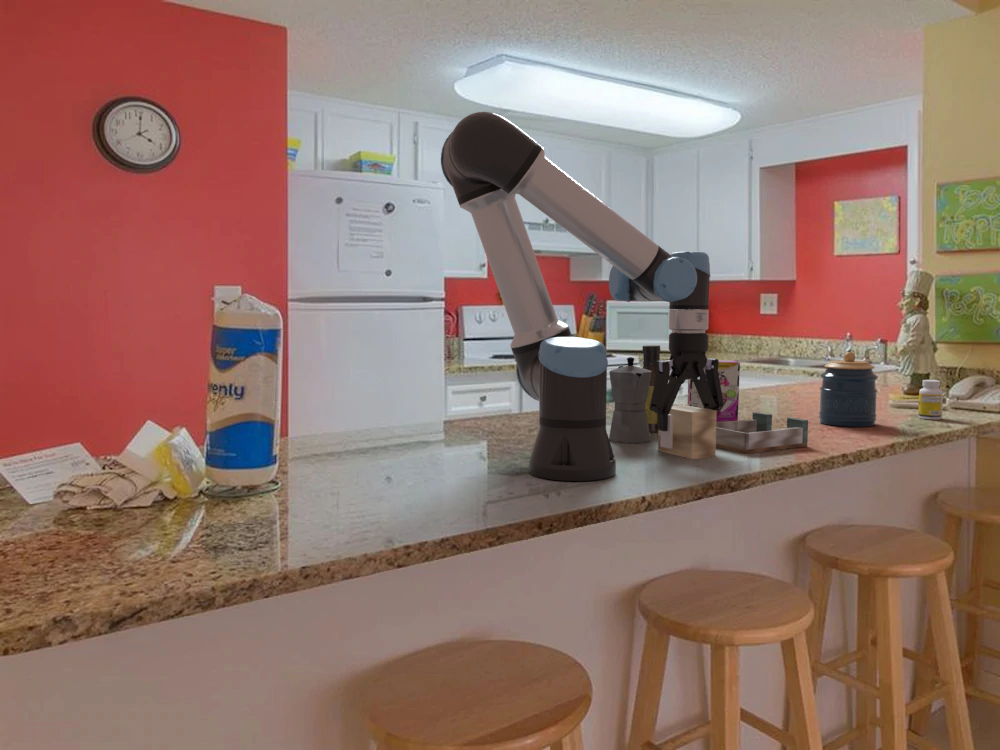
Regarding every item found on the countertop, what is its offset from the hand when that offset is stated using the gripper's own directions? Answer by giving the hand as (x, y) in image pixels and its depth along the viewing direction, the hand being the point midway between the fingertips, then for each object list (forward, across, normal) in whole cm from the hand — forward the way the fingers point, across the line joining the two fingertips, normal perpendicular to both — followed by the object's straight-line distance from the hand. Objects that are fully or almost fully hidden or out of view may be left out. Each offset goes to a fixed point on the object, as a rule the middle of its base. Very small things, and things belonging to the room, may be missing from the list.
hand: (686, 445), depth 161 cm
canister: (+2, +61, +12) cm, 62 cm away
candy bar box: (+2, +24, +19) cm, 31 cm away
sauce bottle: (+2, +12, +26) cm, 29 cm away
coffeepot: (+2, 0, +19) cm, 19 cm away
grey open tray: (+2, +18, +1) cm, 19 cm away
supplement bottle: (+2, +87, +8) cm, 87 cm away
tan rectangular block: (+2, 0, 0) cm, 2 cm away
